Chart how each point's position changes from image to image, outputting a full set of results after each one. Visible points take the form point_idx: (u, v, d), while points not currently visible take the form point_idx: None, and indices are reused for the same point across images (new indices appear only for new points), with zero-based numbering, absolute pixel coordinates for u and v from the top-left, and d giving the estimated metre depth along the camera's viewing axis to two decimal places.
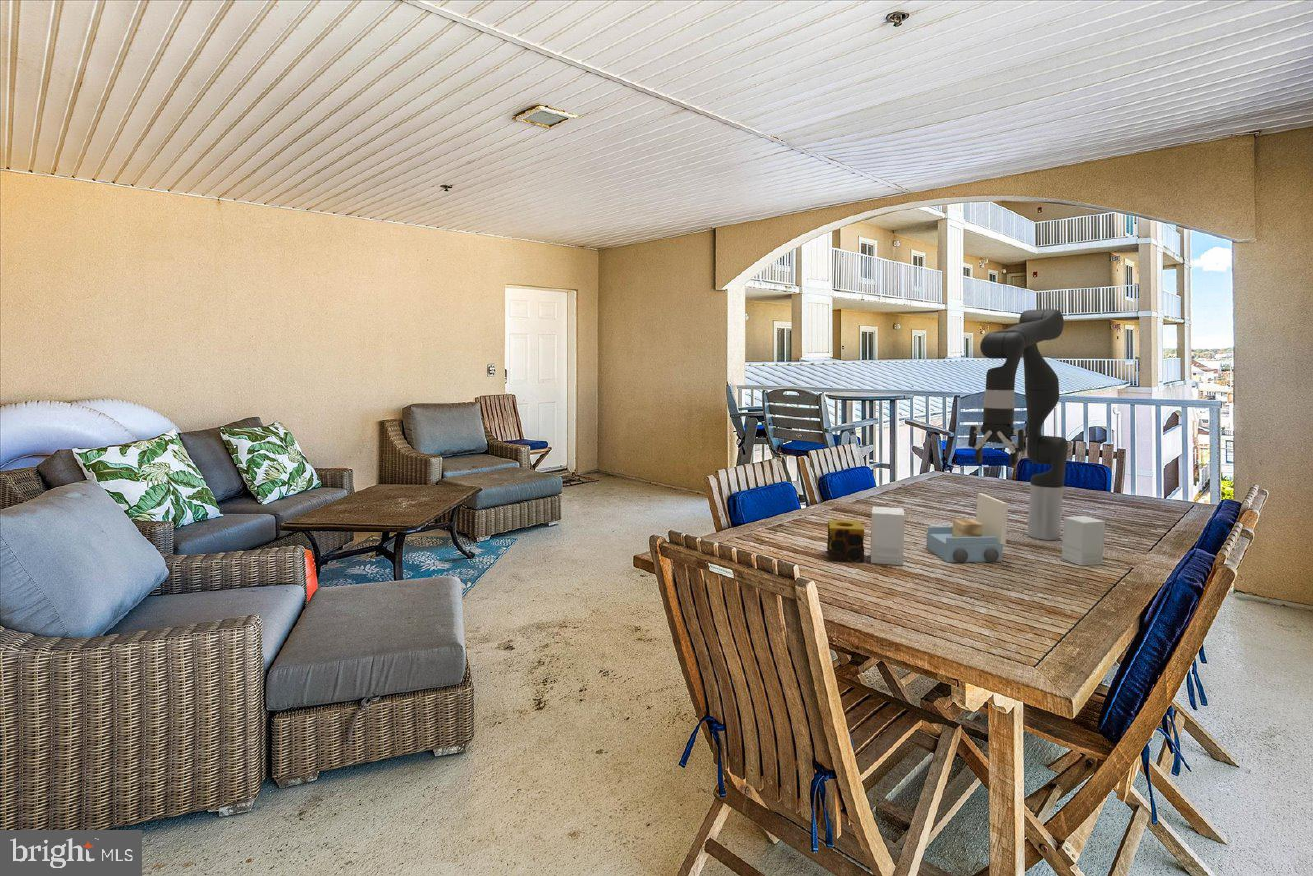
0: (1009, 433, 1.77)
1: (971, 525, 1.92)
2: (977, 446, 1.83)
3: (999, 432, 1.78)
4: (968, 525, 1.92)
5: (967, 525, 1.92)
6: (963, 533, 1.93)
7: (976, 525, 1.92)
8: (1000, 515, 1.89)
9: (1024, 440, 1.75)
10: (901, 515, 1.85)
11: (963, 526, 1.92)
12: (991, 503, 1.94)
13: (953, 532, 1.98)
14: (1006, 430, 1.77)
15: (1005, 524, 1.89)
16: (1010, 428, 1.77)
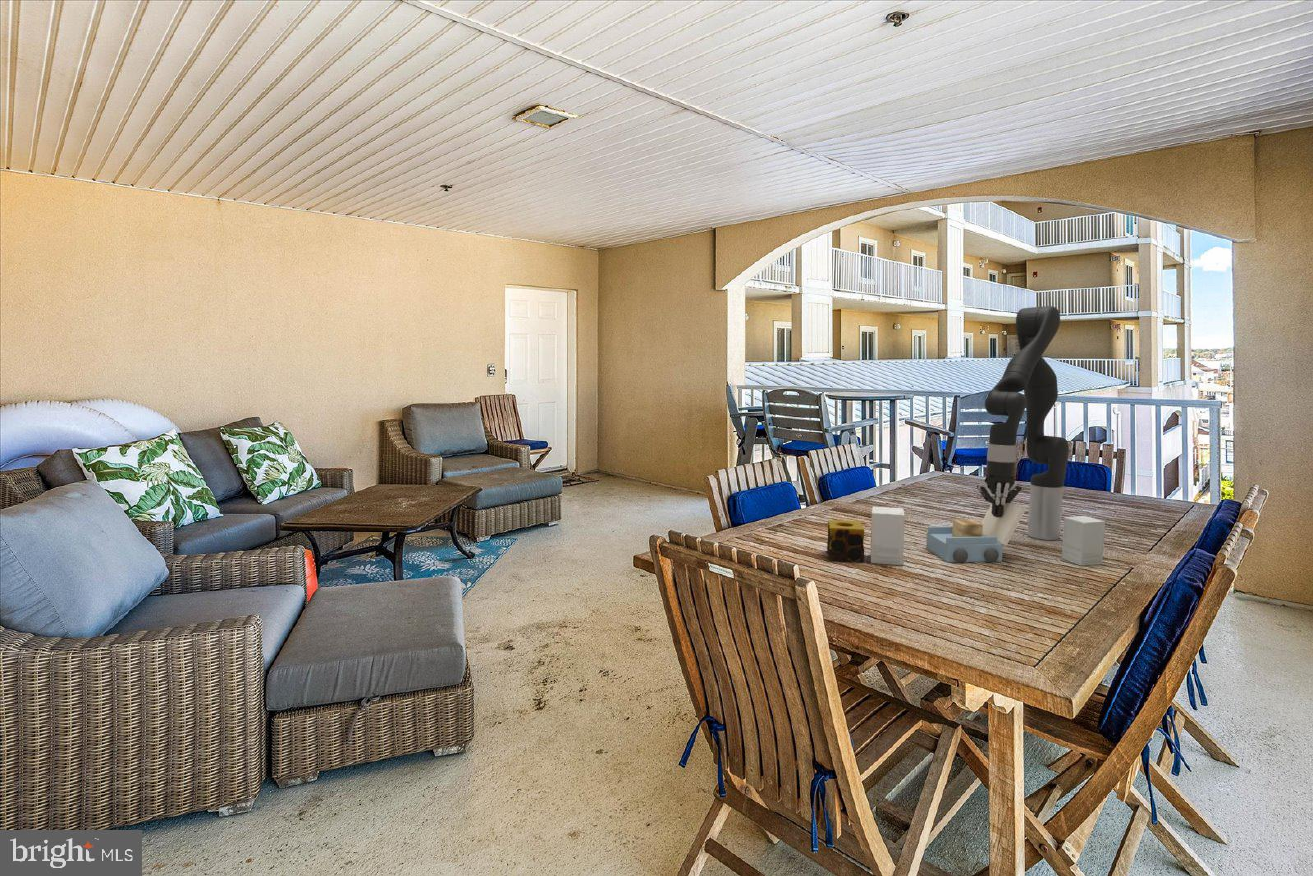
0: (1011, 484, 1.93)
1: (971, 525, 1.92)
2: (998, 501, 1.94)
3: (1008, 484, 1.92)
4: (968, 525, 1.92)
5: (967, 525, 1.92)
6: (963, 533, 1.93)
7: (976, 525, 1.92)
8: (1013, 517, 1.90)
9: None
10: (901, 515, 1.85)
11: (963, 526, 1.92)
12: (1008, 506, 1.94)
13: (953, 532, 1.98)
14: (1011, 480, 1.93)
15: (1015, 527, 1.89)
16: (1014, 481, 1.93)
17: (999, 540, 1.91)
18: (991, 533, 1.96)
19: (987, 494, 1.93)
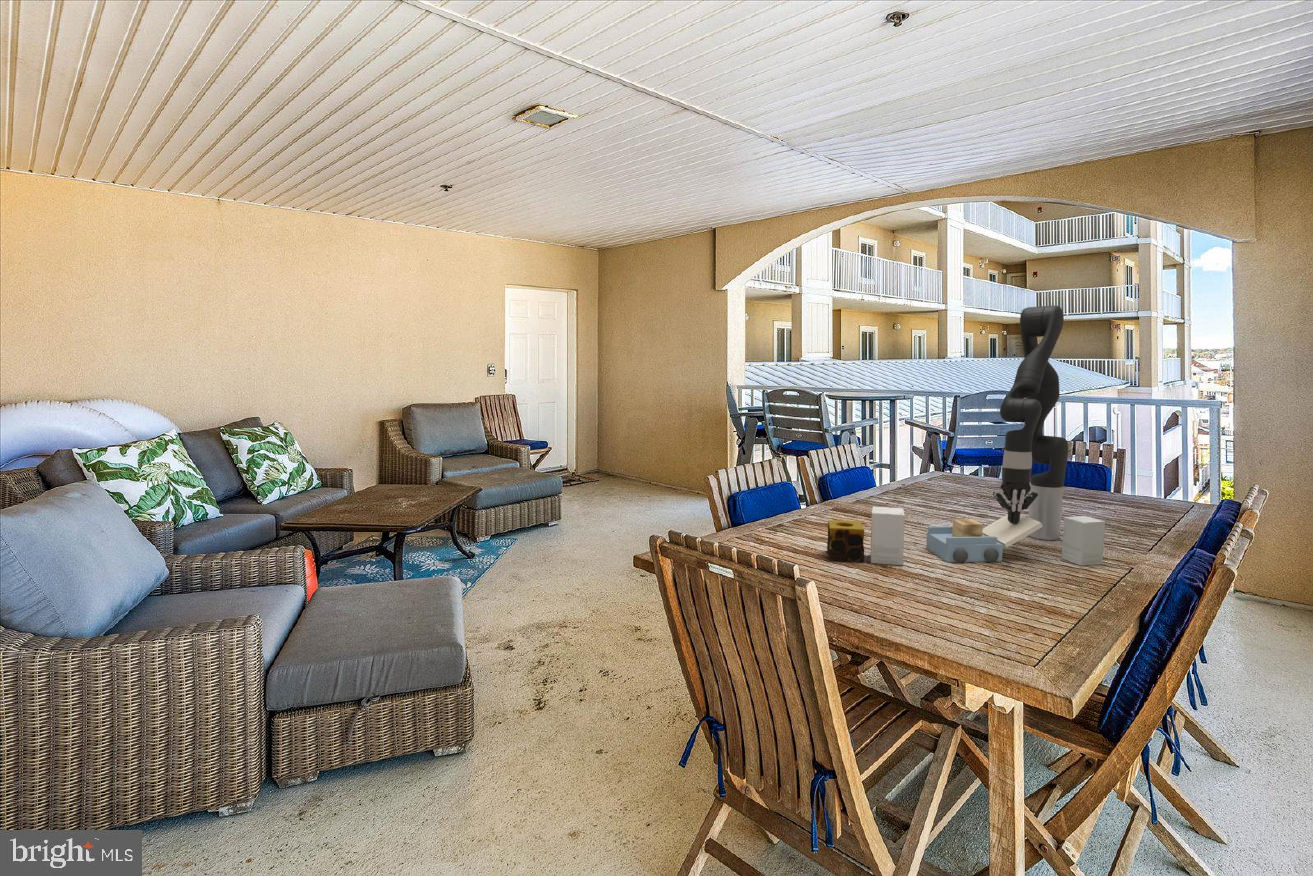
0: (1027, 490, 1.94)
1: (971, 525, 1.92)
2: (1014, 508, 1.94)
3: (1024, 490, 1.93)
4: (968, 525, 1.92)
5: (967, 525, 1.92)
6: (963, 533, 1.93)
7: (976, 525, 1.92)
8: (1026, 528, 1.90)
9: None
10: (901, 515, 1.85)
11: (963, 526, 1.92)
12: (1024, 519, 1.95)
13: (953, 532, 1.98)
14: (1027, 487, 1.93)
15: (1023, 536, 1.89)
16: (1030, 487, 1.94)
17: (1002, 541, 1.91)
18: (995, 535, 1.96)
19: (1003, 501, 1.93)
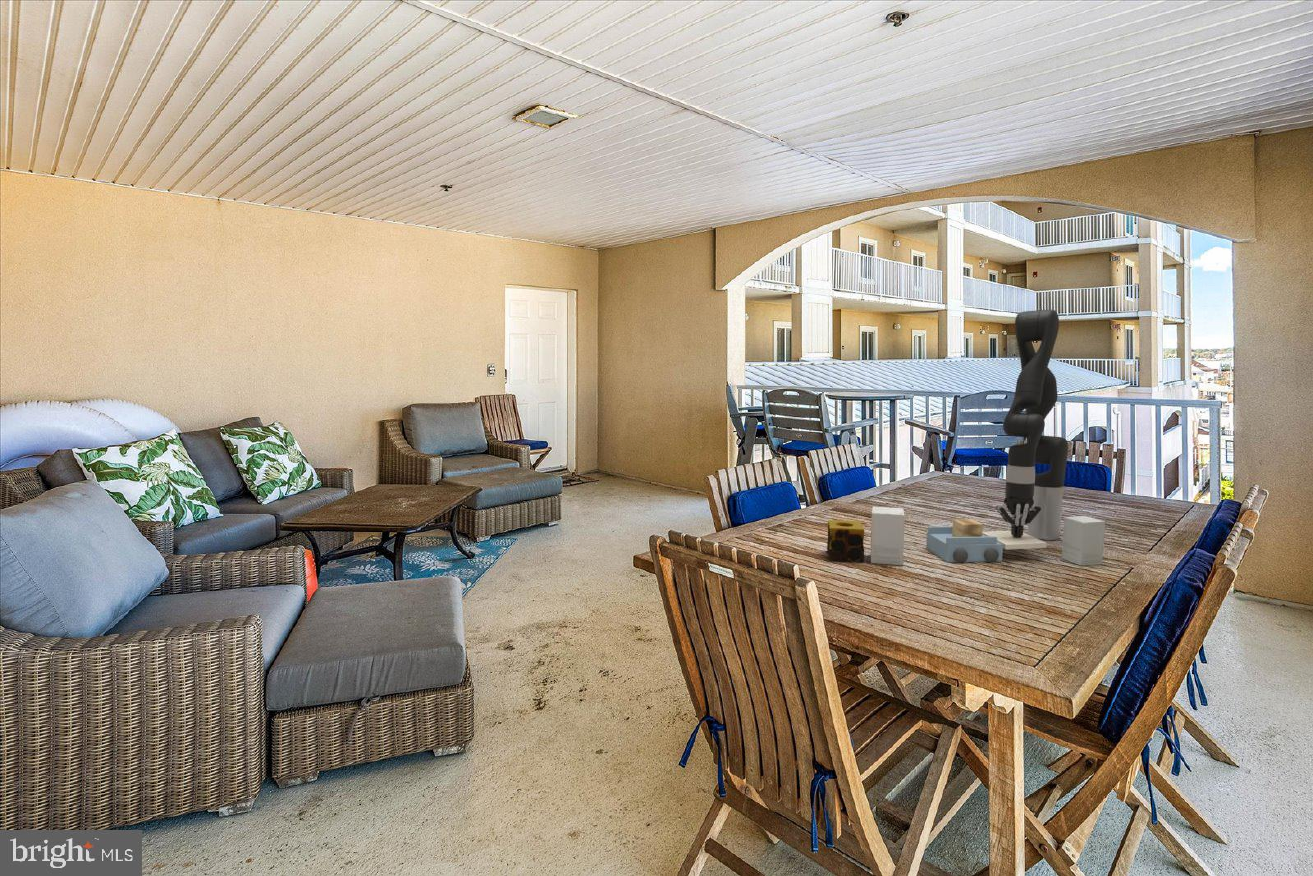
0: (1030, 505, 1.94)
1: (971, 525, 1.92)
2: (1017, 522, 1.95)
3: (1027, 504, 1.93)
4: (968, 525, 1.92)
5: (967, 525, 1.92)
6: (963, 533, 1.93)
7: (976, 525, 1.92)
8: (1031, 542, 1.91)
9: None
10: (901, 515, 1.85)
11: (963, 526, 1.92)
12: (1029, 537, 1.96)
13: (953, 532, 1.98)
14: (1030, 501, 1.94)
15: (1025, 547, 1.90)
16: (1034, 501, 1.94)
17: (1003, 542, 1.91)
18: (997, 538, 1.96)
19: (1007, 515, 1.94)
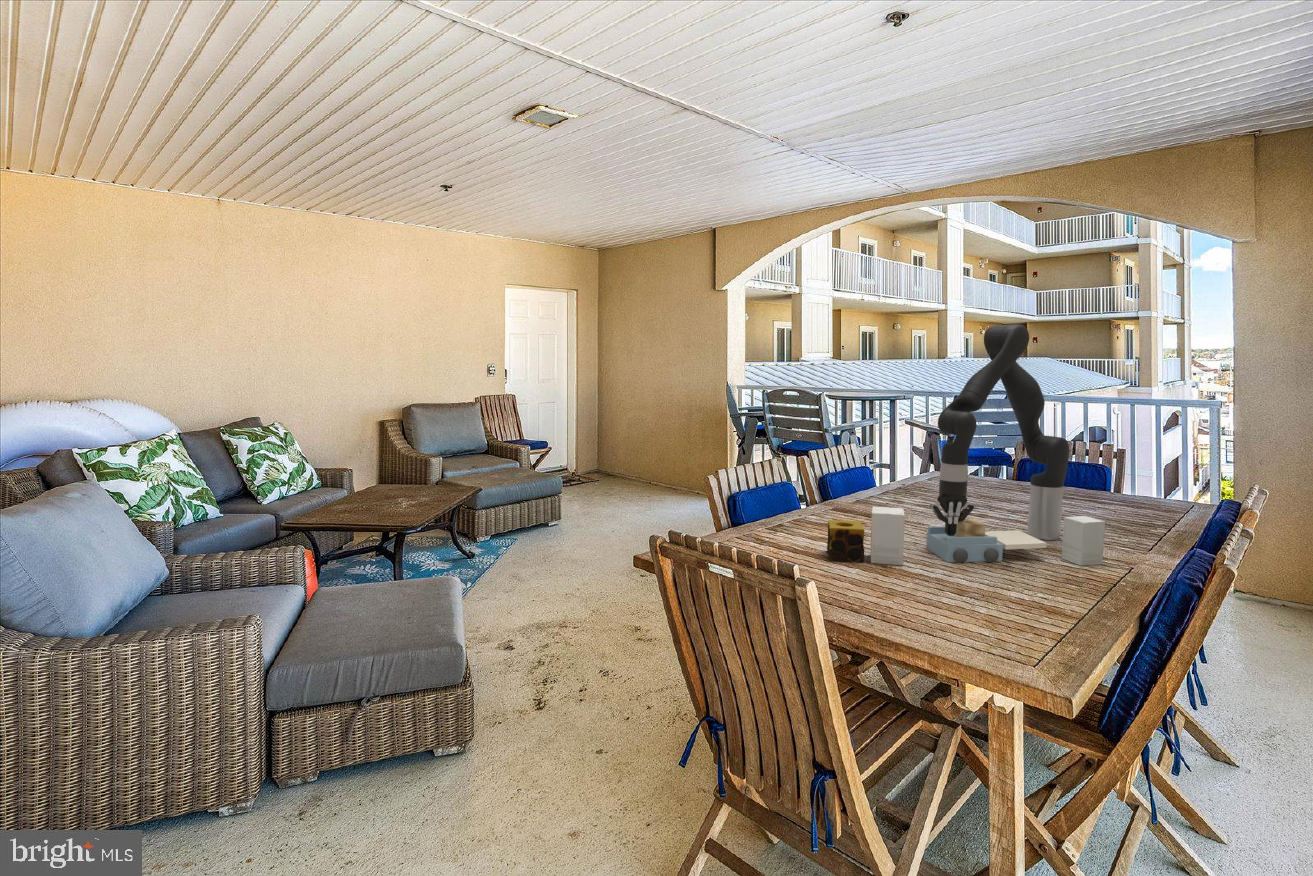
0: (963, 503, 1.94)
1: (974, 525, 1.92)
2: (951, 520, 1.94)
3: (960, 503, 1.93)
4: (971, 525, 1.92)
5: (970, 525, 1.92)
6: (965, 533, 1.93)
7: (979, 525, 1.92)
8: (1031, 542, 1.91)
9: None
10: (901, 515, 1.85)
11: (966, 526, 1.92)
12: (1029, 537, 1.96)
13: (956, 532, 1.98)
14: (963, 499, 1.93)
15: (1025, 547, 1.90)
16: None
17: (1003, 542, 1.91)
18: (997, 538, 1.96)
19: (940, 513, 1.94)
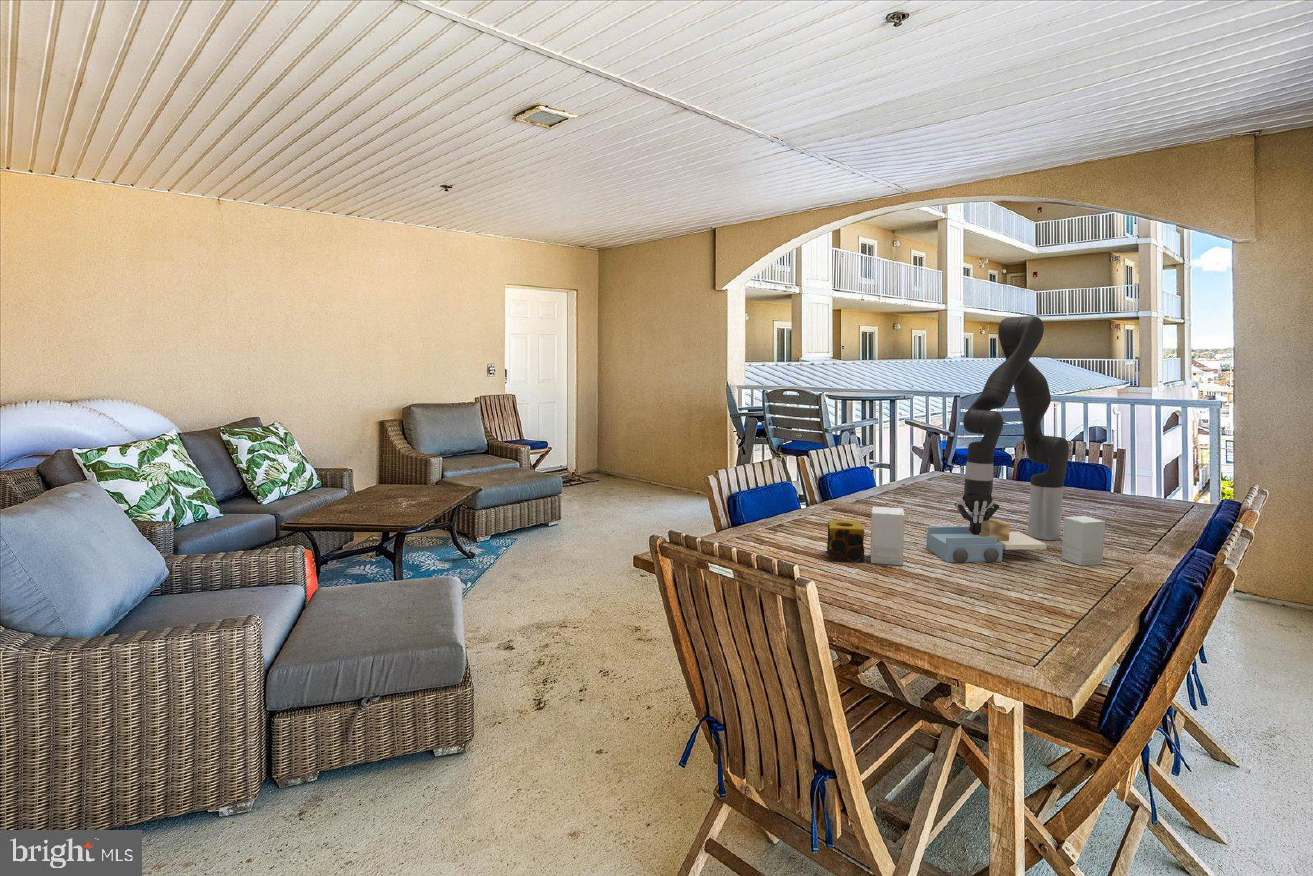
0: (989, 502, 1.94)
1: (998, 525, 1.93)
2: (976, 519, 1.94)
3: (985, 502, 1.93)
4: (995, 525, 1.93)
5: (994, 525, 1.93)
6: (990, 533, 1.93)
7: (1003, 525, 1.93)
8: (1031, 543, 1.91)
9: None
10: (901, 515, 1.85)
11: (990, 526, 1.93)
12: (1029, 538, 1.96)
13: None
14: (989, 498, 1.94)
15: (1025, 548, 1.90)
16: (992, 499, 1.94)
17: (1003, 543, 1.91)
18: None
19: (965, 512, 1.94)
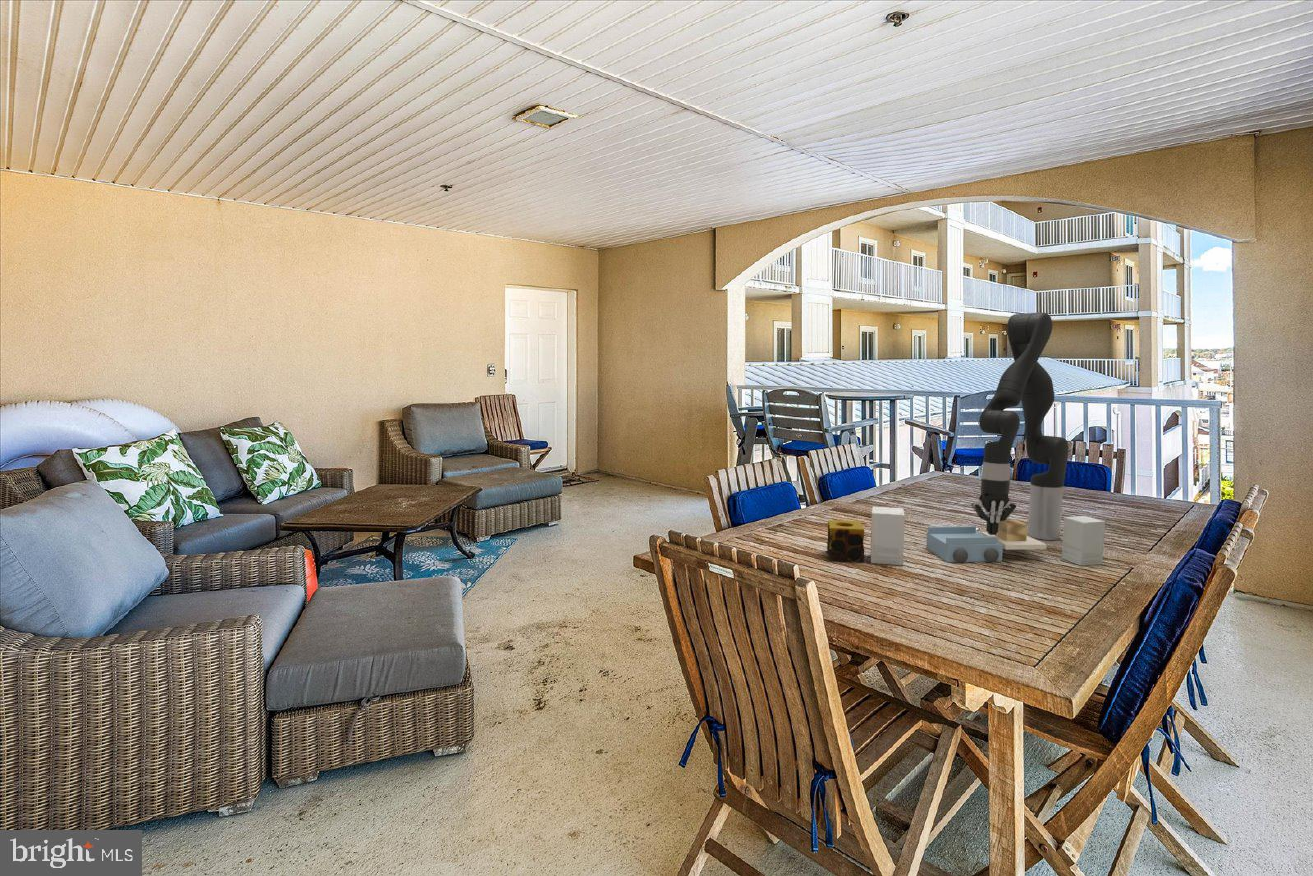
0: (1005, 502, 1.94)
1: (1016, 525, 1.93)
2: (993, 519, 1.94)
3: (1002, 502, 1.93)
4: (1013, 525, 1.93)
5: (1012, 525, 1.93)
6: (1007, 533, 1.93)
7: (1021, 525, 1.93)
8: (1031, 543, 1.91)
9: None
10: (901, 515, 1.85)
11: (1008, 526, 1.93)
12: (1029, 538, 1.96)
13: None
14: (1006, 498, 1.94)
15: (1025, 548, 1.90)
16: None
17: (1004, 543, 1.91)
18: (997, 538, 1.96)
19: (982, 512, 1.94)
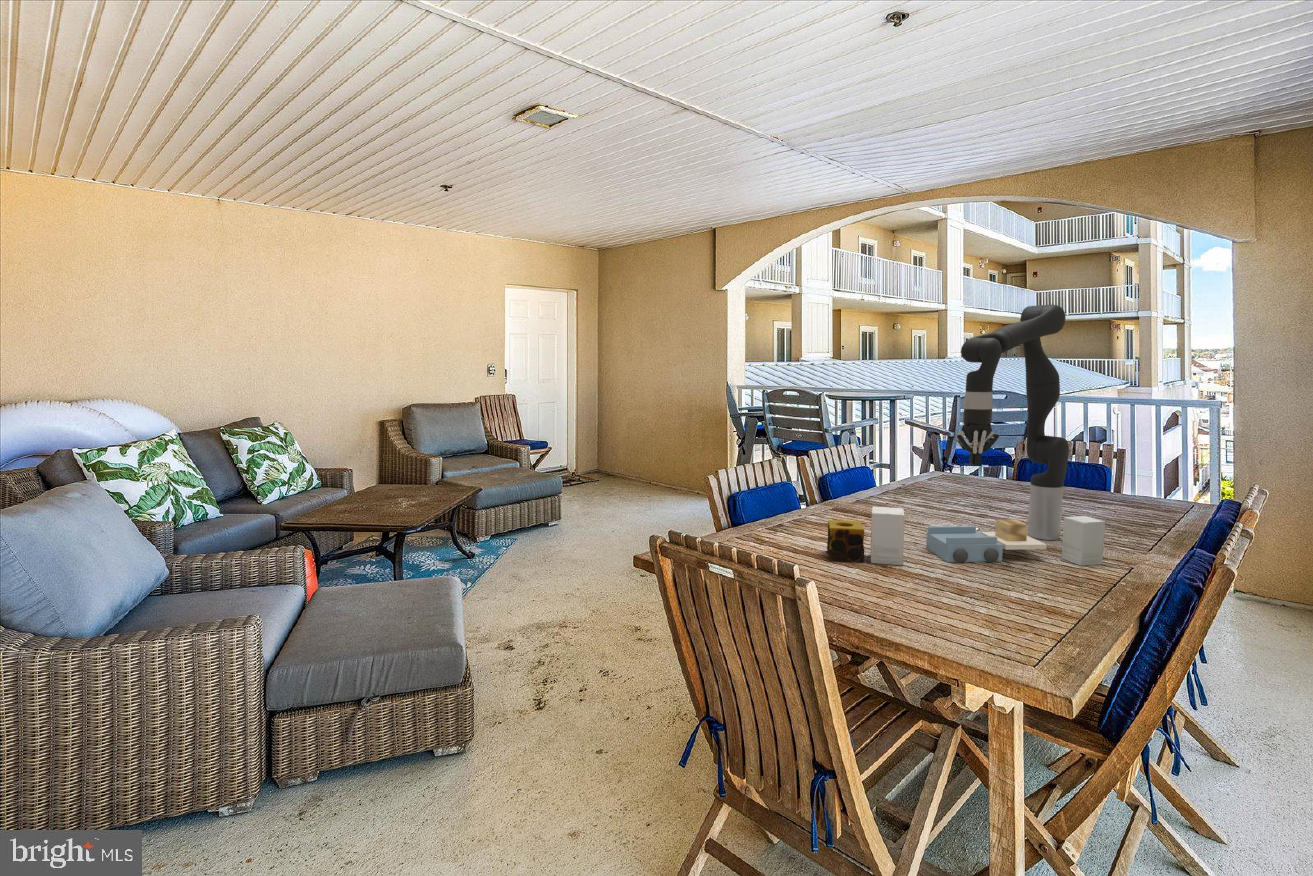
0: (988, 432, 1.91)
1: (1016, 525, 1.93)
2: (975, 450, 1.91)
3: (985, 431, 1.90)
4: (1013, 525, 1.93)
5: (1012, 525, 1.93)
6: (1007, 533, 1.93)
7: (1021, 525, 1.93)
8: (1031, 543, 1.91)
9: None
10: (901, 515, 1.85)
11: (1008, 526, 1.93)
12: (1029, 538, 1.96)
13: (997, 532, 1.98)
14: (988, 428, 1.91)
15: (1025, 548, 1.90)
16: (991, 429, 1.91)
17: (1004, 543, 1.91)
18: (997, 538, 1.96)
19: (964, 442, 1.91)
